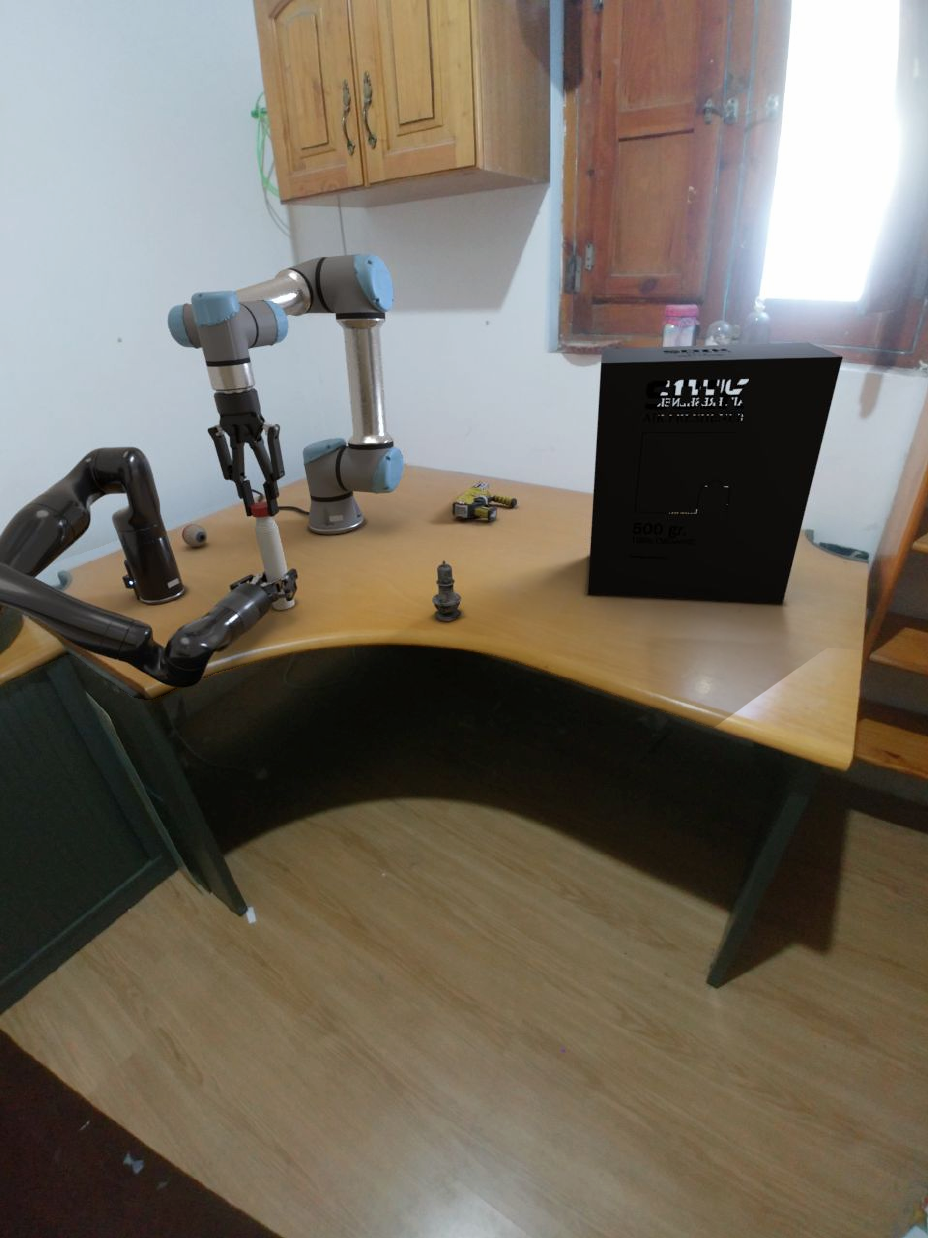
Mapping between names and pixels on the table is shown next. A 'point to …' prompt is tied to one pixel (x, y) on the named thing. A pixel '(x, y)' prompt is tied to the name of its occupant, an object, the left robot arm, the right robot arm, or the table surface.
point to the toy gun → (479, 503)
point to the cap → (259, 509)
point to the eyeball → (194, 535)
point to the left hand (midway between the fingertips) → (284, 571)
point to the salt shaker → (446, 595)
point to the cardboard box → (705, 469)
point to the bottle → (272, 554)
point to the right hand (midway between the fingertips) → (263, 513)
